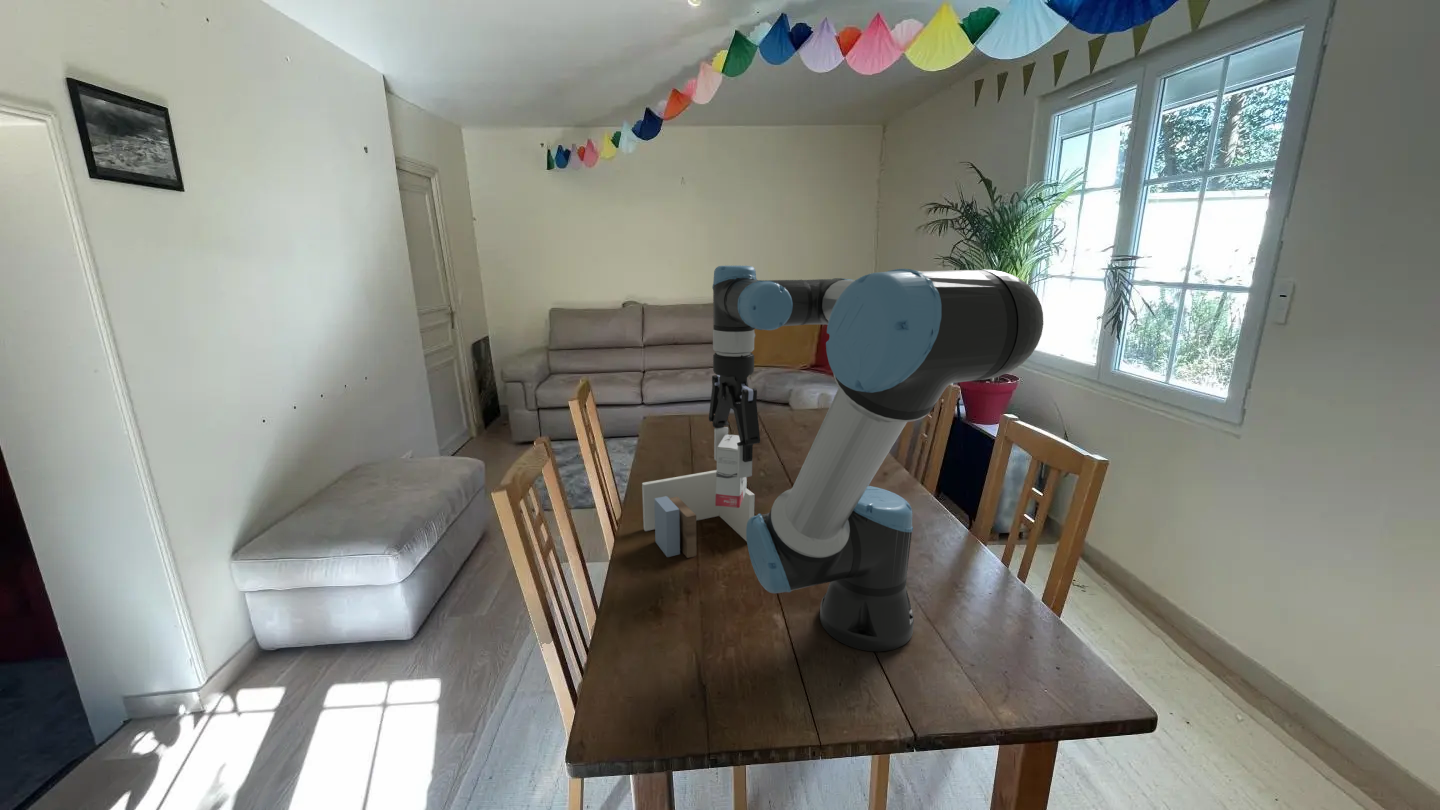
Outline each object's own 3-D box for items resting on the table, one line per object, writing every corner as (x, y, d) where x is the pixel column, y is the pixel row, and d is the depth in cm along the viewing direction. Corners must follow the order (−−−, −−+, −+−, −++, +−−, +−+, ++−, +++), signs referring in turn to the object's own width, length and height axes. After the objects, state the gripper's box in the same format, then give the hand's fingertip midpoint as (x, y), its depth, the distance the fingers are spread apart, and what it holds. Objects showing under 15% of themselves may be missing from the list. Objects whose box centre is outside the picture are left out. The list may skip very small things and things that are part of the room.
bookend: (696, 555, 119) (696, 515, 116) (687, 557, 118) (686, 517, 115) (678, 534, 127) (677, 496, 125) (669, 536, 126) (668, 498, 124)
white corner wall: (753, 542, 124) (754, 494, 121) (668, 562, 116) (667, 511, 113) (721, 512, 138) (721, 469, 135) (643, 528, 130) (642, 482, 127)
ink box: (741, 509, 110) (741, 449, 107) (714, 506, 111) (714, 447, 108) (748, 491, 118) (749, 434, 115) (723, 488, 119) (723, 433, 116)
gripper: (783, 361, 99) (778, 484, 105) (725, 342, 118) (724, 447, 124) (743, 365, 96) (741, 491, 101) (691, 344, 115) (692, 452, 121)
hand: (732, 467), depth 113 cm, fingers closed on ink box, 9 cm apart
